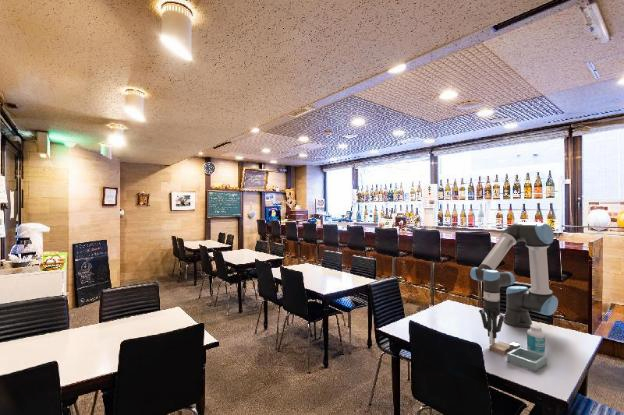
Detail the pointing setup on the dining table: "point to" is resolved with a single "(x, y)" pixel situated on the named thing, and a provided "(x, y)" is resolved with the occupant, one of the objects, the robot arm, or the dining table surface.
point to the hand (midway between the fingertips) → (492, 343)
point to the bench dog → (514, 346)
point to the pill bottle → (536, 339)
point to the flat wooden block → (500, 347)
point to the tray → (527, 359)
